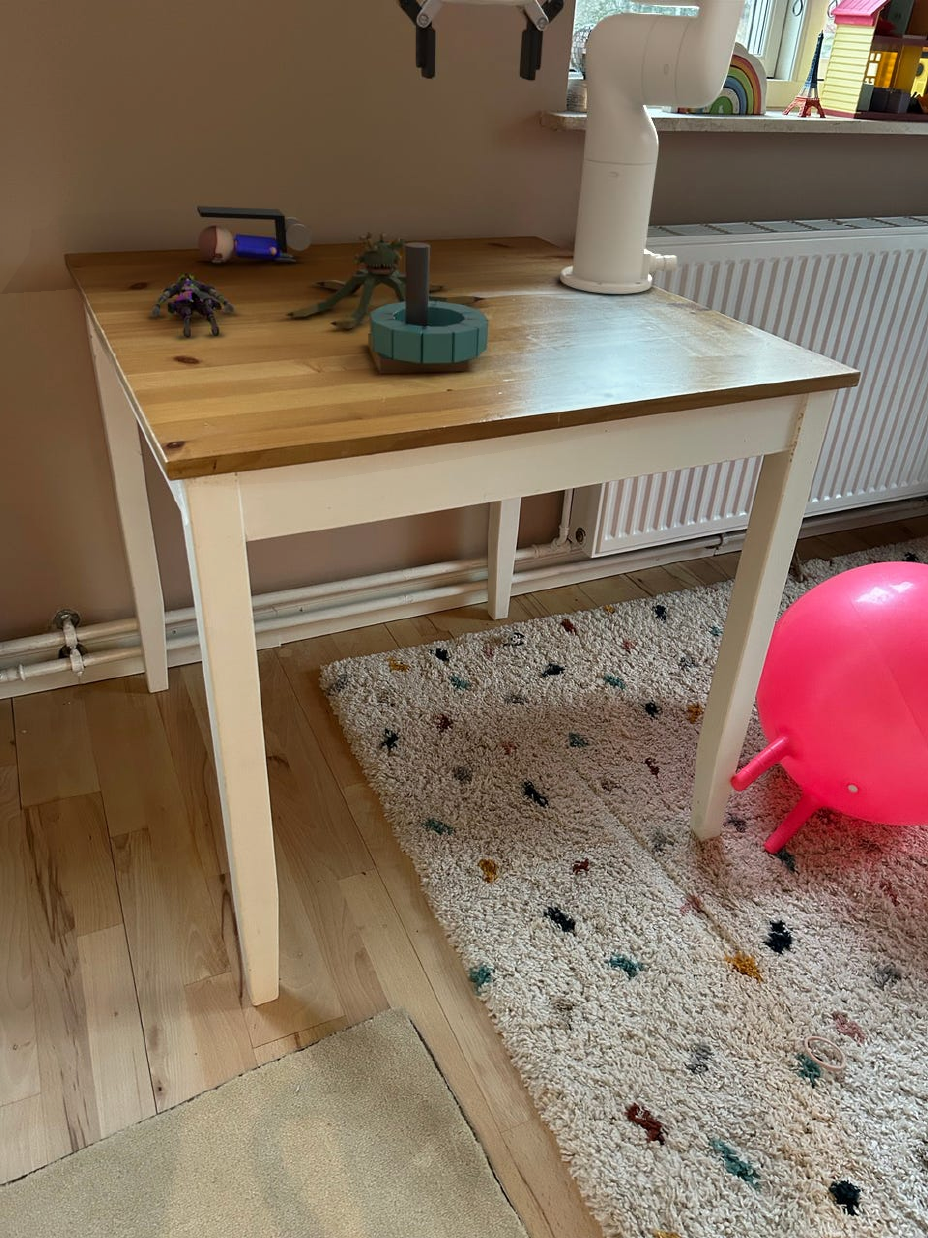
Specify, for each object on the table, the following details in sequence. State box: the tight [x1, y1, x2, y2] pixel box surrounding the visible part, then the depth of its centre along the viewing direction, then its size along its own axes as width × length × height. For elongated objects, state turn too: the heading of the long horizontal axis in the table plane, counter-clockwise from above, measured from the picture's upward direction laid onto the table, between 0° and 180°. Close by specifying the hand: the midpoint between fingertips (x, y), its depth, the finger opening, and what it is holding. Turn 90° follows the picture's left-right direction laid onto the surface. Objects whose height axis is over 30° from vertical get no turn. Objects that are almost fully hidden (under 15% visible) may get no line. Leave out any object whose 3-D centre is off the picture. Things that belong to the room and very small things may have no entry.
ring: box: [369, 301, 489, 363], centre depth 99 cm, size 12×12×3 cm
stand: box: [367, 241, 468, 375], centre depth 98 cm, size 9×9×12 cm
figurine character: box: [196, 205, 312, 264], centre depth 133 cm, size 7×8×15 cm
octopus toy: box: [285, 231, 487, 330], centre depth 115 cm, size 25×20×9 cm
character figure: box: [151, 272, 236, 338], centre depth 110 cm, size 9×4×16 cm
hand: (478, 78), depth 90 cm, fingers open, 9 cm apart
